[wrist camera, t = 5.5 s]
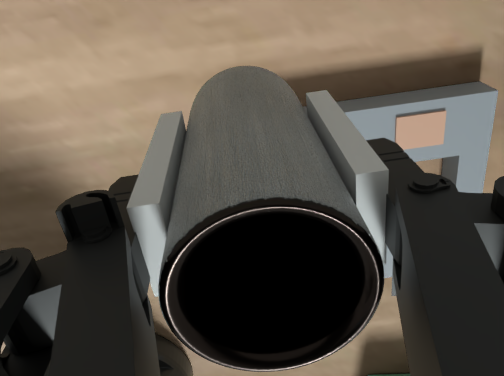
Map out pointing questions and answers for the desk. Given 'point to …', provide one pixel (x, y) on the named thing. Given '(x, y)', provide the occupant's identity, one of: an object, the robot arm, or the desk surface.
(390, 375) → the box
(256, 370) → the grey hollow cylinder
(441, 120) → the socket board
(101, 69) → the desk surface
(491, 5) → the desk surface
